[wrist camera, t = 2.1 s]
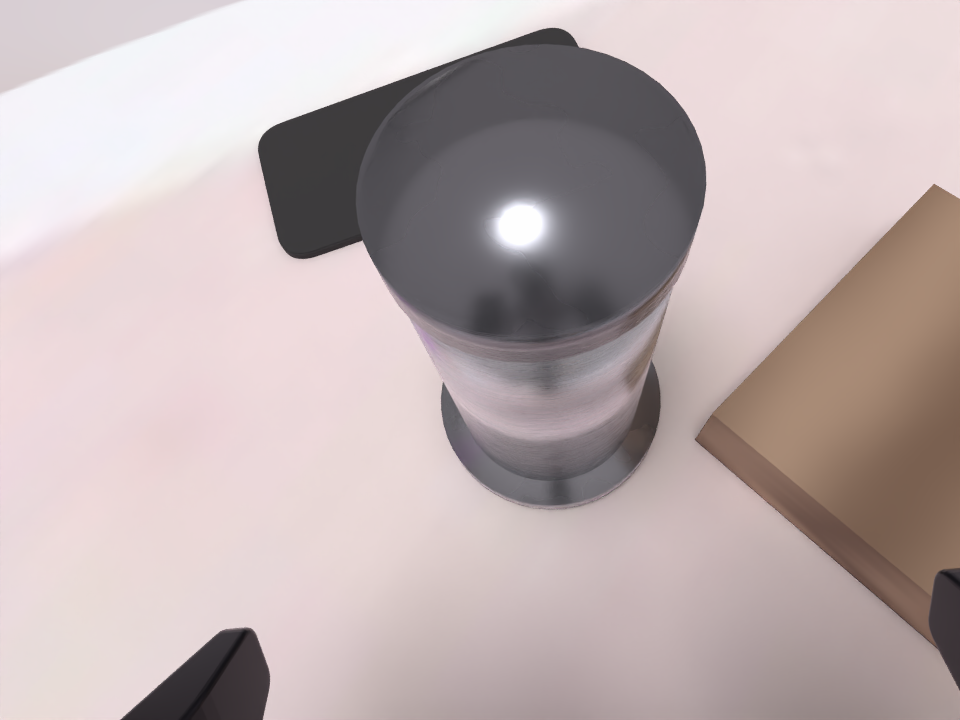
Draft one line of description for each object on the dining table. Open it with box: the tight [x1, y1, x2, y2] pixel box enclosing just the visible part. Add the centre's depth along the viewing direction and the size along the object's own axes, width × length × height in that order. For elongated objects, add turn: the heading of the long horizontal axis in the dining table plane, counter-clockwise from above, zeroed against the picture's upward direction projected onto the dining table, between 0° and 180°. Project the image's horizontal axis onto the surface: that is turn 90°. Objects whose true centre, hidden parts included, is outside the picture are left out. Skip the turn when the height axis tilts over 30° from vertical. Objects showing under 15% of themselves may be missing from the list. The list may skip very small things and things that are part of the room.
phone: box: [258, 28, 578, 259], centre depth 29 cm, size 7×1×15 cm
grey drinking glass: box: [356, 44, 706, 509], centre depth 18 cm, size 8×8×13 cm
